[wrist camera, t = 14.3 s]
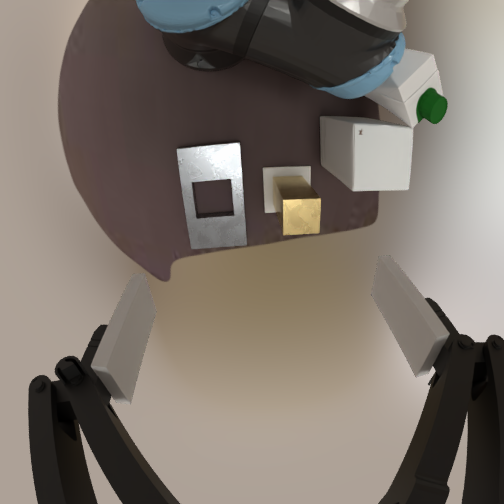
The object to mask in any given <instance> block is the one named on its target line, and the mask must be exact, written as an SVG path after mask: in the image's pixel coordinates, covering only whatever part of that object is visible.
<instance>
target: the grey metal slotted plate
mask: <svg viewBox="0 0 504 504" xmlns="http://www.w3.org/2000/svg"><path fill="white" fill-rule="evenodd" d="M177 156H178V164H179V172H180V179H181V187H182V194H183V200H184V207H185V214H186V220H187V226H188V232H189V238H190V244H191V249H200V248H213V247H227V246H240V245H247V238H246V225H245V211H244V197H243V183H242V168H241V154H240V141H238V142H225V143H214V144H204V145H195V146H187V147H179V148H178V149H177ZM220 179H231V182H232V194H233V205H234V211H233V212H221V213H209V214H198V212H197V204H196V197H195V189H194V182H199V181H209V180H220Z"/></svg>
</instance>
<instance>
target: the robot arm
mask: <svg viewBox="0 0 504 504" xmlns="http://www.w3.org/2000/svg"><path fill="white" fill-rule="evenodd" d="M408 1H409V0H136V3H137V6H138V8H139V10H140V11H141V13H142V14H143V16H144V18H145V20H146V21H147V22H148V23H150V25H151V26H154V28H156V29H158V30H159V31H161V32H162V33H163V40H164V44H165V46H166V48H167V50H168V52H169V53H170V54H171V56H172V57H173V58H174V59H176V60H177V61H178V62H180V63H181V64H183V65H184V66H186V67H189V68H191V69H195V70H199V71H219V70H223V69H227V68H230V67H232V66H234V65H236V64H238V63H240V62H241V61H243V60H244V59H245V58H246V59H249V60H251V61H254V62H257V63H259V64H262V65H265V66H267V67H270V68H272V69H275V70H277V71H280V72H282V73H285V74H287V75H289V76H292V77H294V78H296V79H298V80H300V81H303V82H305V83H307V84H309V85H310V86H311V87H313V88H316V89H318V90H323V91H326V92H328V93H331V94H333V95H335V96H337V97H340V98H344V99H353V98H358V97H361V96H364V95H366V94H368V93H370V92H372V91H373V90H375V89H376V88H377V87H379V86H380V85H381V84H382V83H383V82H385V81H386V80H387V79H388V77H389V76H390V75H391V74H392V73H393V67H394V66H395V65H397V64H399V63H400V61H401V59H402V57H403V54H404V50H405V38H404V35H403V34H402V31H403V30H404V29H405V28H406V26H407V24H406V18H405V14H404V5H405V4H406V3H407V2H408ZM371 296H372V297H373V299H374V300H375V302H376V304H377V306H378V308H379V309H380V311H381V313H382V314H383V316H384V318H385V320H386V322H387V323H388V325H389V327H390V329H391V331H392V333H393V334H394V336H395V338H396V340H397V342H398V344H399V346H400V348H401V349H402V351H403V353H404V355H405V357H406V359H407V361H408V363H409V365H410V367H411V369H412V371H413V373H414V375H415V377H419V376H422V375H426V374H428V373H429V371H430V370H431V368H432V366H433V367H434V368H435V370H436V372H435V374H434V375H433V377H432V378H431V380H430V381H429V383H428V385H430V384H431V386H430V389H429V393H428V396H427V399H426V402H425V405H424V408H423V411H422V414H421V417H420V420H419V423H418V425H417V428H416V431H415V434H414V436H413V438H412V441H411V443H410V446H409V448H408V450H407V453H406V455H405V457H404V460H403V462H402V464H401V466H400V468H399V471H398V472H397V474H396V476H395V478H394V480H393V482H392V485H391V486H390V488H389V490H388V492H387V493H386V495H385V496H384V497H383V498H382V499H381V501H380V502H379V503H378V504H445V503H446V500H447V498H448V495H449V487H448V486H447V481H448V478H449V475H450V472H451V469H452V466H453V463H454V460H455V457H456V453H457V450H458V447H459V443H460V440H461V436H462V432H463V428H464V424H465V419H466V415H467V412H468V442H467V462H466V474H465V483H464V491H463V498H462V504H504V340H503V338H501V337H500V336H498V335H490V336H489V337H488V339H487V340H486V342H483V343H482V342H481V343H480V342H474V340H473V339H472V338H470V337H469V336H467V335H463V334H459V333H458V331H457V330H456V328H455V327H454V326H453V324H452V323H451V322H450V320H449V319H448V317H447V316H446V315H445V313H444V312H443V311H442V309H441V308H440V307H439V306H438V304H437V303H436V302H435V301H433V300H432V299H430V298H425V299H424V297H423V296H422V295H421V293H420V292H419V291H418V289H417V288H416V287H415V286H414V285H413V283H412V282H411V280H410V279H409V278H408V277H407V276H406V274H405V273H404V272H403V270H402V269H401V268H400V267H399V265H398V264H397V263H396V262H395V261H394V259H393V258H392V257H391V256H390V255H386V256H379V257H378V263H377V268H376V273H375V278H374V283H373V288H372V293H371ZM156 312H157V311H156V308H155V305H154V301H153V298H152V295H151V292H150V288H149V285H148V282H147V278H146V275H145V273H143V274H133V275H132V277H131V279H130V280H129V283H128V284H127V287H126V288H125V290H124V292H123V294H122V296H121V299H120V301H119V303H118V305H117V307H116V309H115V311H114V313H113V315H112V318H111V320H110V322H109V324H108V325H100V326H99V327H98V328H97V329H96V331H94V334H93V336H92V338H91V341H90V342H89V344H88V347H87V349H86V351H85V353H84V355H83V358H82V360H81V362H80V360H79V359H78V358H77V357H75V356H67V357H65V358H63V359H61V360H60V361H59V362H58V364H57V365H56V368H55V374H56V375H57V377H58V378H59V379H60V380H58V381H52V382H51V380H50V379H49V378H48V377H47V376H45V375H39V376H37V377H35V378H34V379H33V380H32V381H31V383H30V386H29V402H28V406H29V408H28V416H29V439H30V453H31V463H32V471H33V478H34V485H35V490H36V496H37V501H38V504H98V503H97V500H96V497H95V494H94V490H93V487H92V484H91V479H90V476H89V472H88V468H87V464H86V460H85V455H84V450H83V445H82V440H81V434H80V429H79V424H80V427H81V429H82V431H83V433H84V435H85V437H86V440H87V442H88V444H89V446H90V448H91V450H92V452H93V454H94V456H95V458H96V460H97V462H98V464H99V465H100V467H101V469H102V471H103V472H104V474H105V476H106V478H107V479H108V481H109V483H110V484H111V486H112V488H113V489H114V491H115V493H116V494H117V496H118V497H119V499H120V500H121V502H122V503H123V504H180V503H179V502H178V501H177V499H176V498H175V497H174V496H173V495H172V493H171V492H170V491H169V490H168V489H167V488H166V486H165V485H164V484H163V482H162V481H161V480H160V478H159V477H158V476H157V475H156V473H155V472H154V471H153V469H152V468H151V467H150V465H149V464H148V462H147V461H146V460H145V458H144V457H143V455H142V454H141V452H140V451H139V450H138V448H137V446H136V445H135V443H134V442H133V440H132V439H131V437H130V436H129V434H128V432H127V431H126V429H125V428H124V426H123V424H122V423H121V421H120V419H119V418H118V416H117V414H116V413H115V411H114V409H113V407H112V406H111V404H110V403H109V402H110V399H111V396H112V397H113V399H114V400H115V402H116V403H124V404H131V401H132V397H133V393H134V389H135V385H136V381H137V378H138V373H139V370H140V366H141V363H142V359H143V355H144V352H145V348H146V345H147V341H148V338H149V335H150V331H151V328H152V325H153V322H154V319H155V315H156Z"/></svg>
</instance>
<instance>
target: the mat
mask: <svg viewBox="0 0 504 504" xmlns="http://www.w3.org/2000/svg"><path fill="white" fill-rule="evenodd" d="M280 176H303V178H304V179H305V180H306V181H307V182H308V183H309V185H310V176H311V166H282V167H263V184H264V206H265V213H272V212H276V211H275V208H274V205H273V177H280Z"/></svg>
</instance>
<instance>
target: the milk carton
mask: <svg viewBox="0 0 504 504" xmlns="http://www.w3.org/2000/svg"><path fill="white" fill-rule="evenodd" d="M439 76H440V75H439V70H438V69H437V66H436V62H435V59H434V55H433V54H430V53H425V52H421V51H416V50H412V49H407V48H405V50H404V54H403V57H402V59H401V61H400V63H399V64H397V65H395V66H394V67H393V73H392V74H391V75H390V76H389V77H388V79H387V80H386V81H385V82H383V83H382V84H381V85H380V86H379V87H377V88H376V89H375V90H373V91H372V92H370V93H368V94H366V95H364V96H366V97H368V98H369V99H371V100H373V101H374V102H376V103H378V104H380V105H381V106H383V107H385V108H386V109H387V110H389V111H390V112H392V113H393V114H394V115H396V116H397V117H399V118H400V119H401V120H402V121H404V122H405V123H406V124H408V125H409V126H410V127H411V128H413V127H414V126H415V125H416V124H417V123H419V122H420V121H421V120H422V119H423V118H425V119H427V120H428V121H430V122H431V123H433V124H437V123H438V122H440V121H441V120H442V118H443V117H444V115H445V113H446V110H447V100H446V99H445V98H444V97H443V92H442V87H441V81H440V77H439Z"/></svg>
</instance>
